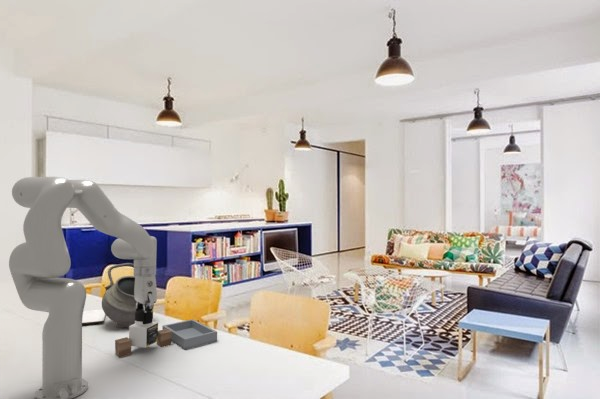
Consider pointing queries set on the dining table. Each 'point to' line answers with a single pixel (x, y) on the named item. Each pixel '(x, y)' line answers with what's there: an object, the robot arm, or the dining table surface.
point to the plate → (93, 317)
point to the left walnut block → (123, 347)
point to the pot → (120, 299)
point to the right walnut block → (164, 337)
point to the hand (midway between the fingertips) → (143, 320)
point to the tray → (191, 334)
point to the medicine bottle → (143, 331)
